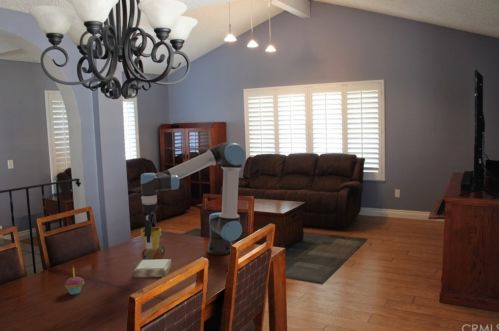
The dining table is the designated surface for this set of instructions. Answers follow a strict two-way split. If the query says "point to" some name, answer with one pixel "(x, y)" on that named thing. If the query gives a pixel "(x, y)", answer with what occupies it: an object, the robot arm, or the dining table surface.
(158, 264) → the plinth
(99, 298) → the dining table surface
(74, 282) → the cupcake
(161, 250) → the tin
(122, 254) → the dining table surface
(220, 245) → the robot arm
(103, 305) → the dining table surface
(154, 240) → the plant pot
